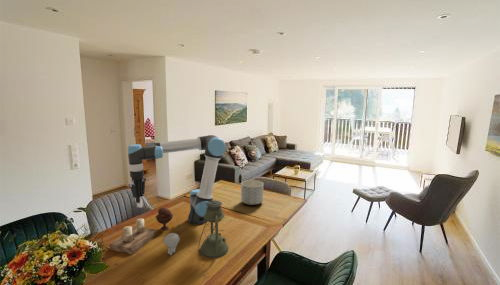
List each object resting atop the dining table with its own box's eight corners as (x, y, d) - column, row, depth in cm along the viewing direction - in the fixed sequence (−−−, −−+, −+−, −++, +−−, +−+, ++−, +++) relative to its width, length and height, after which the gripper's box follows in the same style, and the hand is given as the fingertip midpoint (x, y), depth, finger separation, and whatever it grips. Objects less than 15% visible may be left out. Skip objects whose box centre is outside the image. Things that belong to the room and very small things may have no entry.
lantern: (231, 257, 144) (232, 207, 139) (200, 262, 139) (199, 211, 134) (224, 238, 164) (225, 194, 159) (197, 242, 159) (196, 196, 154)
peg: (134, 244, 155) (133, 226, 153) (129, 249, 150) (128, 230, 148) (128, 243, 156) (127, 225, 154) (122, 247, 151) (121, 229, 149)
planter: (266, 202, 224) (267, 182, 221) (255, 209, 208) (256, 188, 205) (248, 197, 234) (249, 178, 231) (236, 204, 218) (237, 184, 215)
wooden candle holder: (156, 235, 166) (155, 218, 164) (133, 254, 145) (131, 235, 143) (135, 231, 170) (135, 214, 168) (110, 249, 149) (108, 231, 147)
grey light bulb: (171, 248, 151) (171, 230, 150) (182, 251, 149) (181, 232, 147) (162, 256, 144) (161, 236, 142) (172, 259, 141) (172, 239, 139)
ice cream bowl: (157, 234, 167) (156, 212, 165) (155, 226, 177) (154, 206, 175) (174, 230, 172) (173, 209, 170) (171, 223, 182) (170, 203, 180)
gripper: (138, 166, 160) (141, 202, 164) (123, 172, 148) (127, 210, 152) (148, 167, 158) (151, 203, 163) (134, 173, 146) (138, 212, 150)
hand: (140, 206), depth 157 cm, fingers closed
